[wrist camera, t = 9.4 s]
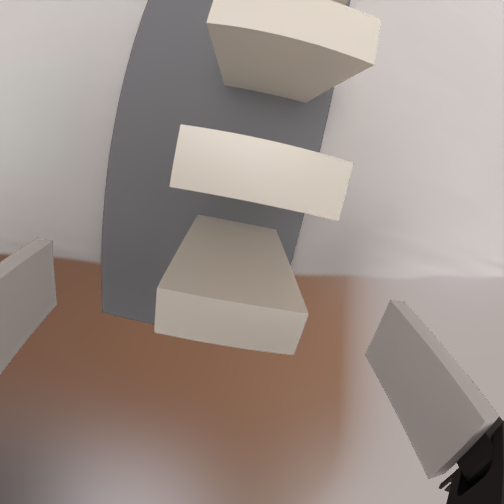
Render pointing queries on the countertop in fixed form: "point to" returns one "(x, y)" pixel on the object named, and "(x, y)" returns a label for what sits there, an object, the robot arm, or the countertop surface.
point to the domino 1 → (291, 45)
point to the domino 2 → (260, 171)
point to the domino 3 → (231, 289)
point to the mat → (164, 146)
